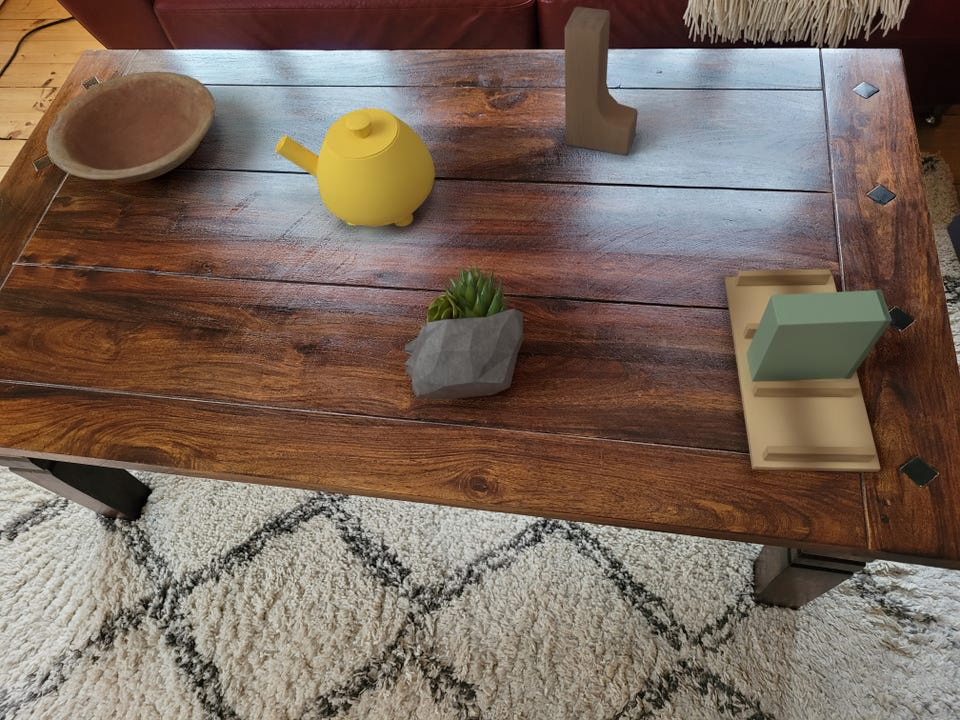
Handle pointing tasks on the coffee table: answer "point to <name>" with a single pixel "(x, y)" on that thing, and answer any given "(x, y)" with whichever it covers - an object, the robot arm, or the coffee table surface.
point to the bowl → (131, 127)
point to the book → (816, 335)
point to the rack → (796, 390)
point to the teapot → (368, 168)
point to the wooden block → (593, 87)
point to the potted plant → (466, 341)
